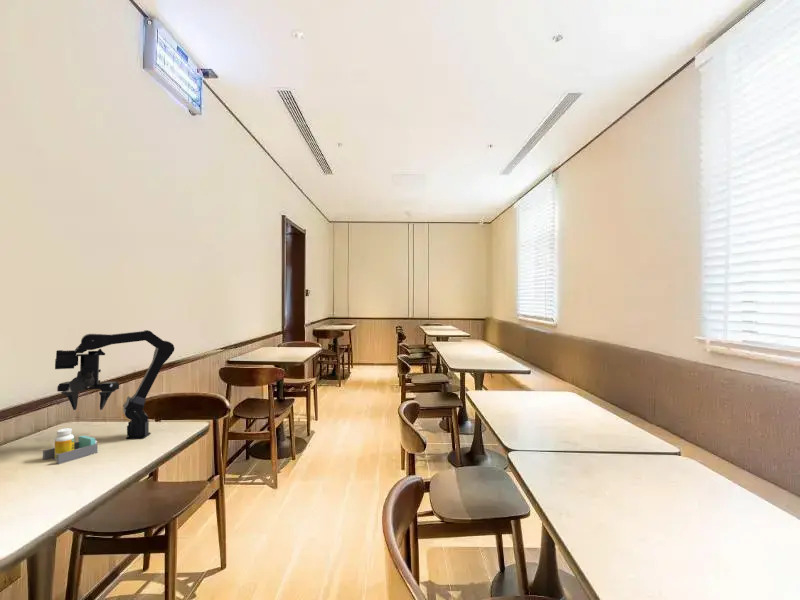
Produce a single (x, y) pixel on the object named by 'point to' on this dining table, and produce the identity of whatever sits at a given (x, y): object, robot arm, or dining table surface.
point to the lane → (80, 450)
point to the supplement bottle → (64, 441)
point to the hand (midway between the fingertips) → (88, 409)
